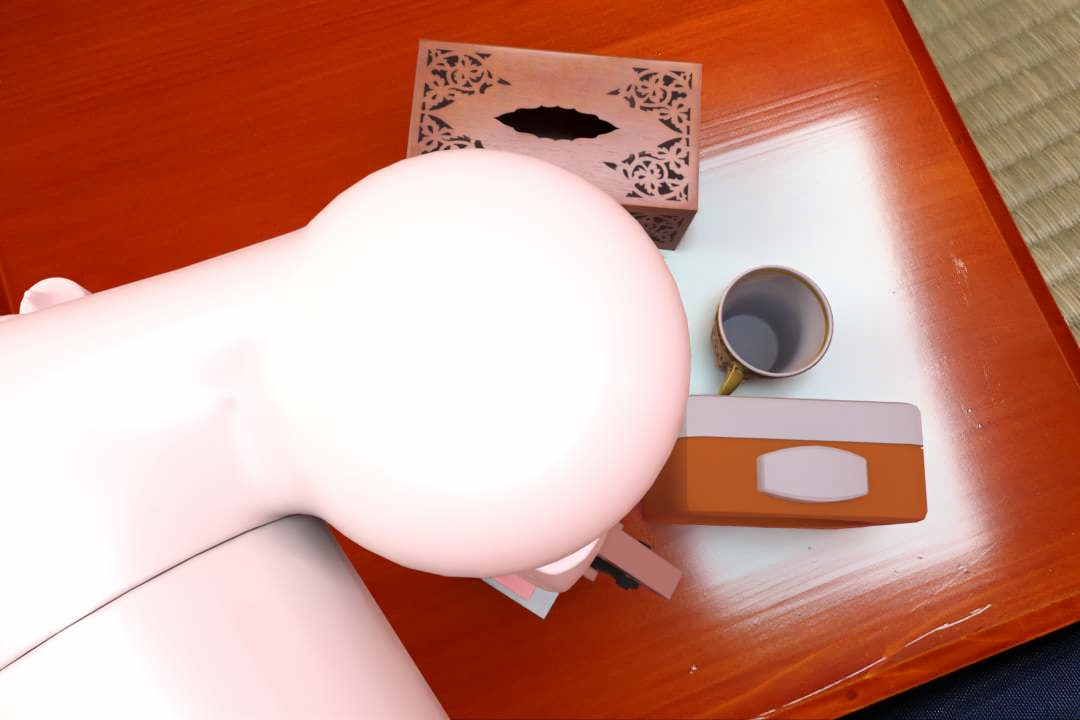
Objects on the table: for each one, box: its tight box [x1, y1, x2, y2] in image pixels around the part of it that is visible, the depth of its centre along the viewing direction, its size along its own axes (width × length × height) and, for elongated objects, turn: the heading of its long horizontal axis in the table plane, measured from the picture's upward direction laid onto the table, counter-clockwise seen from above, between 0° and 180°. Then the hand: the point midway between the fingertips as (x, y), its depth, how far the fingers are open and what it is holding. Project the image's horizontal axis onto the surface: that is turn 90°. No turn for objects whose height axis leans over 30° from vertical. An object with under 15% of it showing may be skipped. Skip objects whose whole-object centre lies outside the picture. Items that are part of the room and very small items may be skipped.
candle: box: [19, 277, 93, 314], centre depth 68 cm, size 7×7×25 cm
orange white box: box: [642, 394, 929, 531], centre depth 71 cm, size 18×9×21 cm, turn 88°
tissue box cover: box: [405, 38, 703, 251], centre depth 82 cm, size 26×14×10 cm, turn 86°
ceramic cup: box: [709, 264, 834, 396], centre depth 78 cm, size 13×10×10 cm
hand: (487, 489), depth 42 cm, fingers open, 9 cm apart
